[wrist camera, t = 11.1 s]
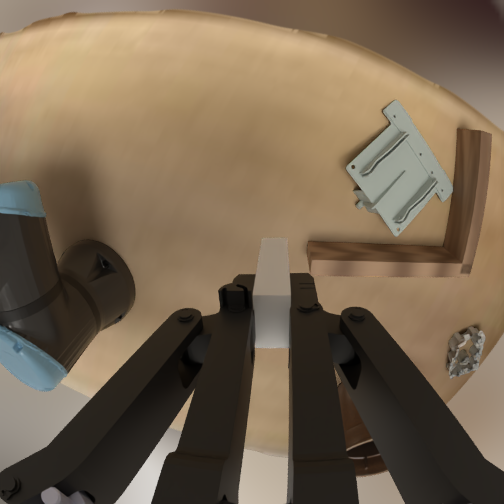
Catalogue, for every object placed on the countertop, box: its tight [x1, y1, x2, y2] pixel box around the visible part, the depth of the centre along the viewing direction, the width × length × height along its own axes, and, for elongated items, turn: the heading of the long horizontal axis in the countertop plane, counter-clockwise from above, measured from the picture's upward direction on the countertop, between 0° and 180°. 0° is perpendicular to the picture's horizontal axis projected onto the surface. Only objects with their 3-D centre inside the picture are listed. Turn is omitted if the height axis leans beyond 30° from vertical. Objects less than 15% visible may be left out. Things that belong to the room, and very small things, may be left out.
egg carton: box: [447, 326, 485, 379], centre depth 42 cm, size 11×8×4 cm
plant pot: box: [338, 382, 388, 477], centre depth 42 cm, size 16×16×16 cm
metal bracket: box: [346, 100, 453, 237], centre depth 33 cm, size 14×6×15 cm
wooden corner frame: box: [307, 129, 492, 277], centre depth 32 cm, size 23×20×6 cm
